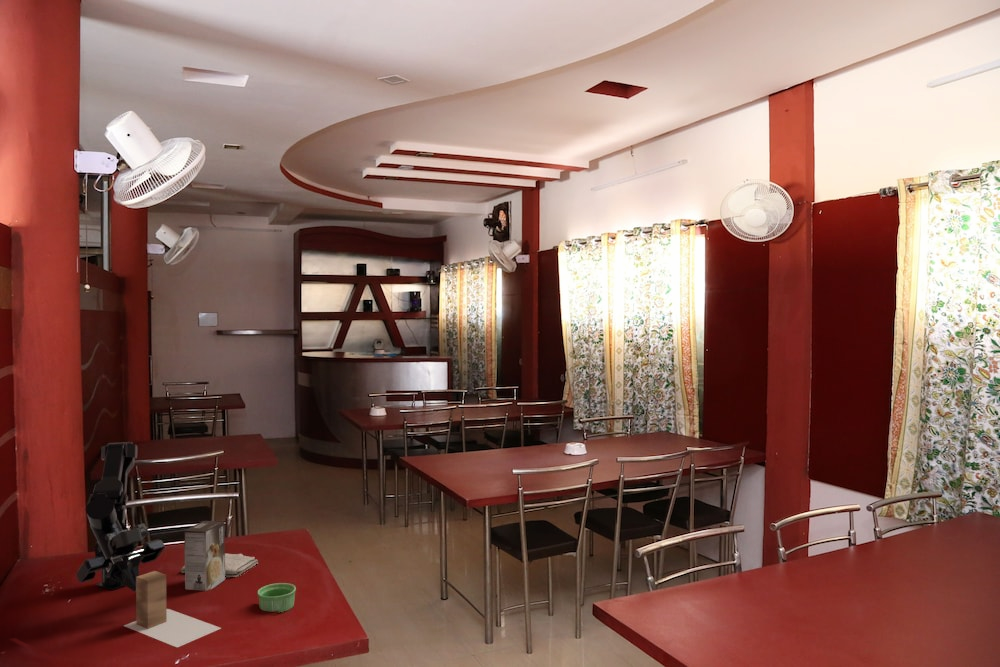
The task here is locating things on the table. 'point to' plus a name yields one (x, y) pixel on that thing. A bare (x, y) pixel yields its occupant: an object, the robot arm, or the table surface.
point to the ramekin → (276, 597)
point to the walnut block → (151, 599)
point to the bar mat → (176, 629)
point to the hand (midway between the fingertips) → (137, 590)
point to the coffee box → (204, 555)
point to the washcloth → (235, 564)
